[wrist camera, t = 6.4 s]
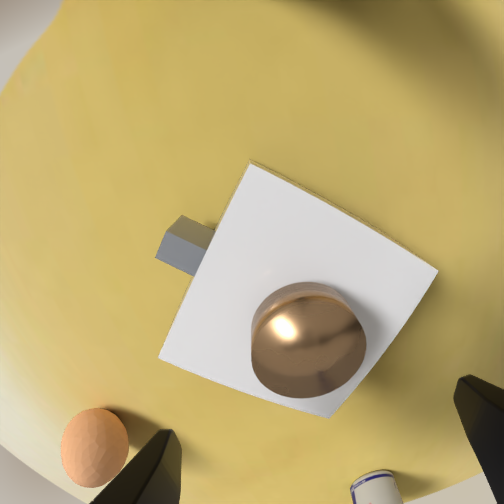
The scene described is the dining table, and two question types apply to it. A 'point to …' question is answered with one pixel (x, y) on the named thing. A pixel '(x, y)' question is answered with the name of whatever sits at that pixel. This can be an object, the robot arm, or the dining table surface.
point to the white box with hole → (282, 279)
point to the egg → (94, 447)
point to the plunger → (306, 341)
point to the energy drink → (376, 489)
